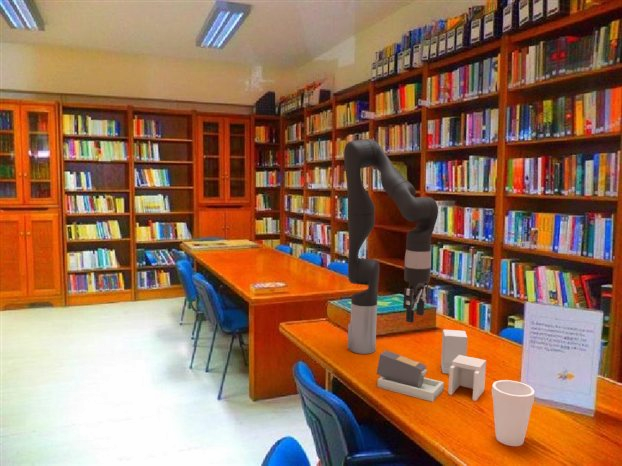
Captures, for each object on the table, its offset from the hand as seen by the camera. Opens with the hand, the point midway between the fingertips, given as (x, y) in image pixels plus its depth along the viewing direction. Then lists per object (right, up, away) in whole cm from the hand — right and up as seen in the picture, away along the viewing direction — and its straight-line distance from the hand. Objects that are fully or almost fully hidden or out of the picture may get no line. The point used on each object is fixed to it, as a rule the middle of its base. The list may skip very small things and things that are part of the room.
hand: (415, 318), depth 153 cm
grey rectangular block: (-5, -19, +1) cm, 19 cm away
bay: (+15, -21, -2) cm, 26 cm away
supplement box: (+15, -20, +15) cm, 29 cm away
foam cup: (+17, -25, -29) cm, 42 cm away
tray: (-2, -21, -1) cm, 21 cm away
